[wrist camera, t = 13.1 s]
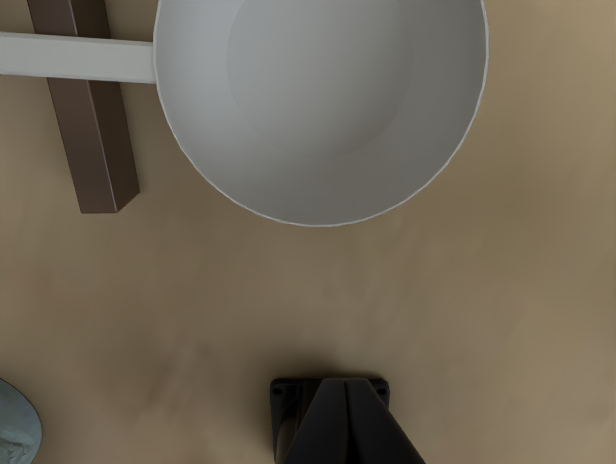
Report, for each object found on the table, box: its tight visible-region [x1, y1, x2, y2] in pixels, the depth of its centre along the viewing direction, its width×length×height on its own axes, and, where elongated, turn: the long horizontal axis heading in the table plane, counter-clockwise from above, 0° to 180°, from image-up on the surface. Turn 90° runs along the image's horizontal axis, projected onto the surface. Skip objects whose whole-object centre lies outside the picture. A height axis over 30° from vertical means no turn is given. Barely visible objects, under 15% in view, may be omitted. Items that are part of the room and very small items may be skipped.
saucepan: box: [0, 0, 489, 227], centre depth 16 cm, size 11×18×4 cm, turn 86°
